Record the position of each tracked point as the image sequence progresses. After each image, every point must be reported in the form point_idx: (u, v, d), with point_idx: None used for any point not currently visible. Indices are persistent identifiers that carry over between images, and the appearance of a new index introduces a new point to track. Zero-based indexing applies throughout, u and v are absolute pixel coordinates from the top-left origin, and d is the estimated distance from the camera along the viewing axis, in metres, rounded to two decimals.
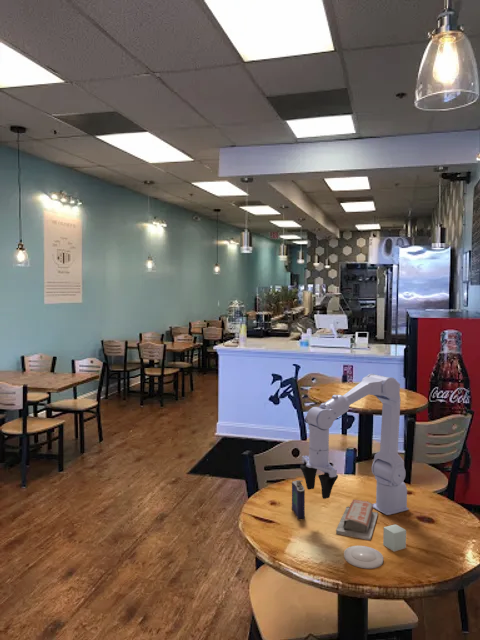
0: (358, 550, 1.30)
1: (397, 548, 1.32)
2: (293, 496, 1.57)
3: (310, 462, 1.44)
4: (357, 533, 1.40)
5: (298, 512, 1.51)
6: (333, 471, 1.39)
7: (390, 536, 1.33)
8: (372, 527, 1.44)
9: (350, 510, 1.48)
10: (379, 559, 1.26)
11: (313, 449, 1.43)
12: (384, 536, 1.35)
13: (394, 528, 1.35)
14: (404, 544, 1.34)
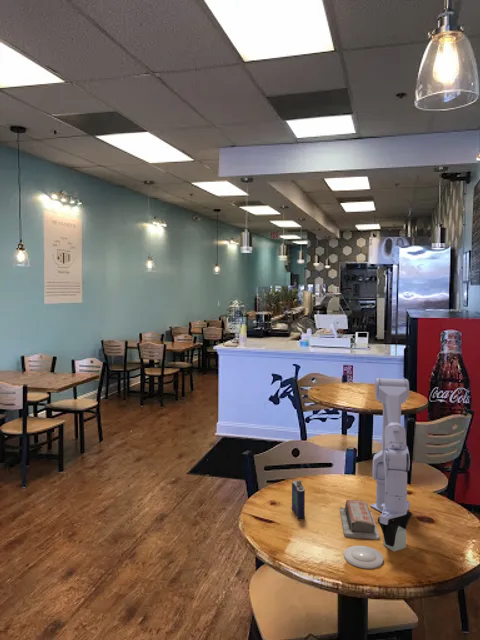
0: (358, 550, 1.30)
1: (397, 548, 1.32)
2: (293, 496, 1.57)
3: None
4: (365, 534, 1.40)
5: (298, 512, 1.51)
6: (382, 517, 1.29)
7: None
8: (375, 526, 1.45)
9: (351, 511, 1.47)
10: (379, 559, 1.26)
11: (400, 495, 1.31)
12: None
13: None
14: (404, 544, 1.34)
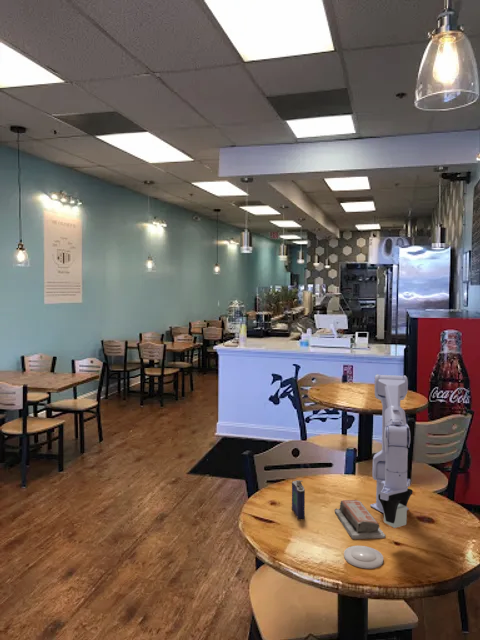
0: (358, 550, 1.30)
1: (398, 524, 1.32)
2: (293, 496, 1.57)
3: None
4: (371, 533, 1.40)
5: (298, 512, 1.51)
6: (383, 493, 1.29)
7: None
8: None
9: (352, 512, 1.46)
10: (379, 559, 1.26)
11: (400, 472, 1.31)
12: None
13: None
14: (405, 521, 1.33)
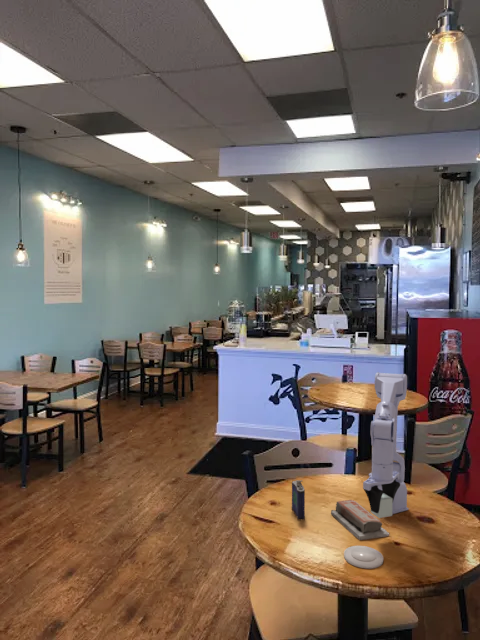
0: (358, 550, 1.30)
1: (382, 515, 1.37)
2: (293, 496, 1.57)
3: None
4: (376, 533, 1.40)
5: (298, 512, 1.51)
6: (365, 483, 1.34)
7: None
8: None
9: (354, 512, 1.46)
10: (379, 559, 1.26)
11: (385, 464, 1.36)
12: None
13: None
14: (390, 512, 1.38)
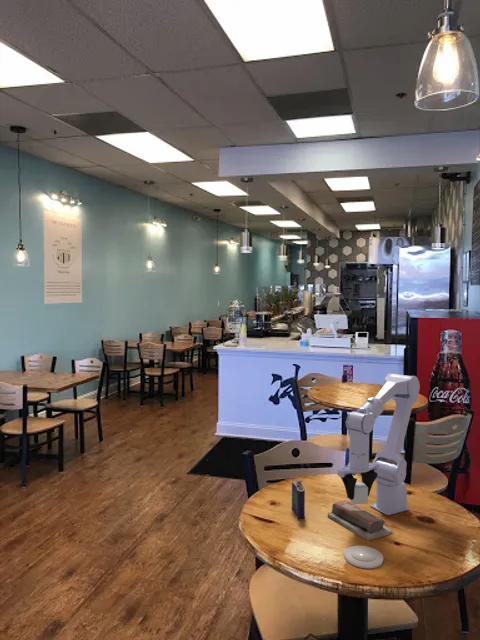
0: (358, 550, 1.30)
1: (357, 502, 1.45)
2: (293, 496, 1.57)
3: None
4: (380, 531, 1.41)
5: (298, 512, 1.51)
6: (339, 470, 1.44)
7: None
8: None
9: (355, 513, 1.46)
10: (379, 559, 1.26)
11: (356, 453, 1.44)
12: None
13: (358, 484, 1.48)
14: (366, 500, 1.46)
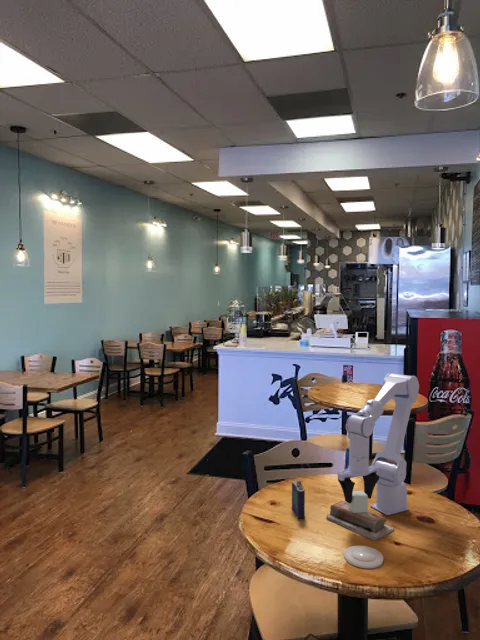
0: (358, 550, 1.30)
1: (357, 510, 1.46)
2: (293, 496, 1.57)
3: None
4: (383, 530, 1.42)
5: (298, 512, 1.51)
6: (339, 474, 1.44)
7: None
8: None
9: (357, 513, 1.45)
10: (379, 559, 1.26)
11: (356, 457, 1.45)
12: None
13: (358, 493, 1.48)
14: (365, 508, 1.46)
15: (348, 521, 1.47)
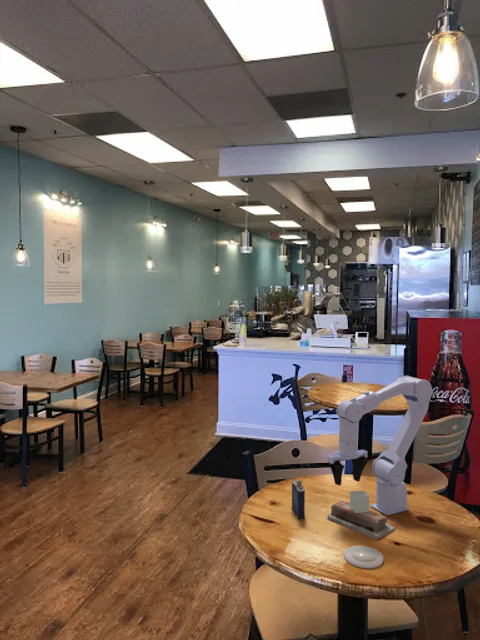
0: (358, 550, 1.30)
1: (359, 510, 1.46)
2: (293, 496, 1.57)
3: None
4: (385, 529, 1.43)
5: (298, 512, 1.51)
6: (329, 457, 1.50)
7: (353, 499, 1.47)
8: None
9: (359, 513, 1.46)
10: (379, 559, 1.26)
11: (342, 440, 1.51)
12: (350, 499, 1.49)
13: (359, 493, 1.48)
14: (367, 508, 1.46)
15: (349, 521, 1.47)
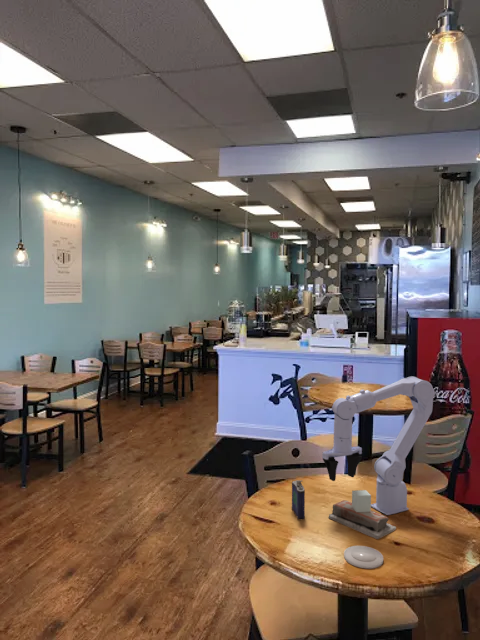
0: (358, 550, 1.30)
1: (360, 510, 1.46)
2: (293, 496, 1.57)
3: None
4: (386, 529, 1.43)
5: (298, 512, 1.51)
6: (323, 453, 1.54)
7: (355, 498, 1.47)
8: None
9: (360, 513, 1.46)
10: (379, 559, 1.26)
11: (335, 436, 1.55)
12: (352, 499, 1.50)
13: (361, 492, 1.48)
14: (369, 508, 1.47)
15: (350, 520, 1.47)
